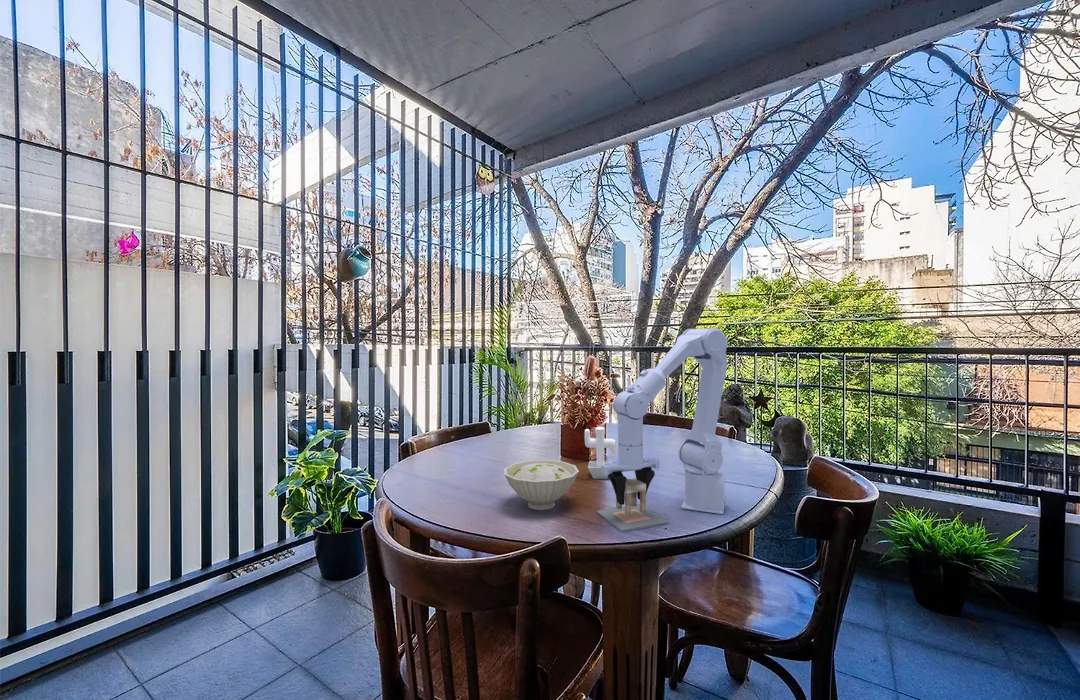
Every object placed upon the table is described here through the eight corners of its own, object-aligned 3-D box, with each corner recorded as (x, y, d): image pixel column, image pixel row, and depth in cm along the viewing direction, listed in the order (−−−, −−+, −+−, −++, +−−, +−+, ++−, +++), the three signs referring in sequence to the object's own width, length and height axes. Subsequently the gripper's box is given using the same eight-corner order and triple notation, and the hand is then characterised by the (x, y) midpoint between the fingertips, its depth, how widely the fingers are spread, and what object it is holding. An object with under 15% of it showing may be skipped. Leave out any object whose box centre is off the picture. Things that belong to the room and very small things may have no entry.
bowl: (494, 497, 122) (493, 460, 122) (560, 488, 129) (560, 452, 129) (517, 524, 104) (516, 481, 104) (593, 512, 111) (592, 471, 111)
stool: (634, 505, 110) (634, 478, 110) (646, 512, 105) (646, 484, 105) (616, 507, 108) (615, 480, 108) (627, 515, 104) (627, 486, 104)
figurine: (616, 480, 135) (615, 430, 134) (584, 479, 136) (583, 429, 136) (616, 473, 142) (616, 425, 141) (585, 472, 143) (585, 424, 143)
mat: (639, 505, 115) (639, 503, 115) (668, 523, 103) (668, 521, 103) (596, 512, 110) (596, 510, 110) (621, 532, 99) (621, 529, 99)
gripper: (647, 437, 113) (647, 492, 113) (594, 442, 108) (595, 500, 108) (664, 443, 106) (665, 501, 106) (609, 449, 101) (609, 510, 101)
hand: (631, 501), depth 107 cm, fingers closed on stool, 5 cm apart
